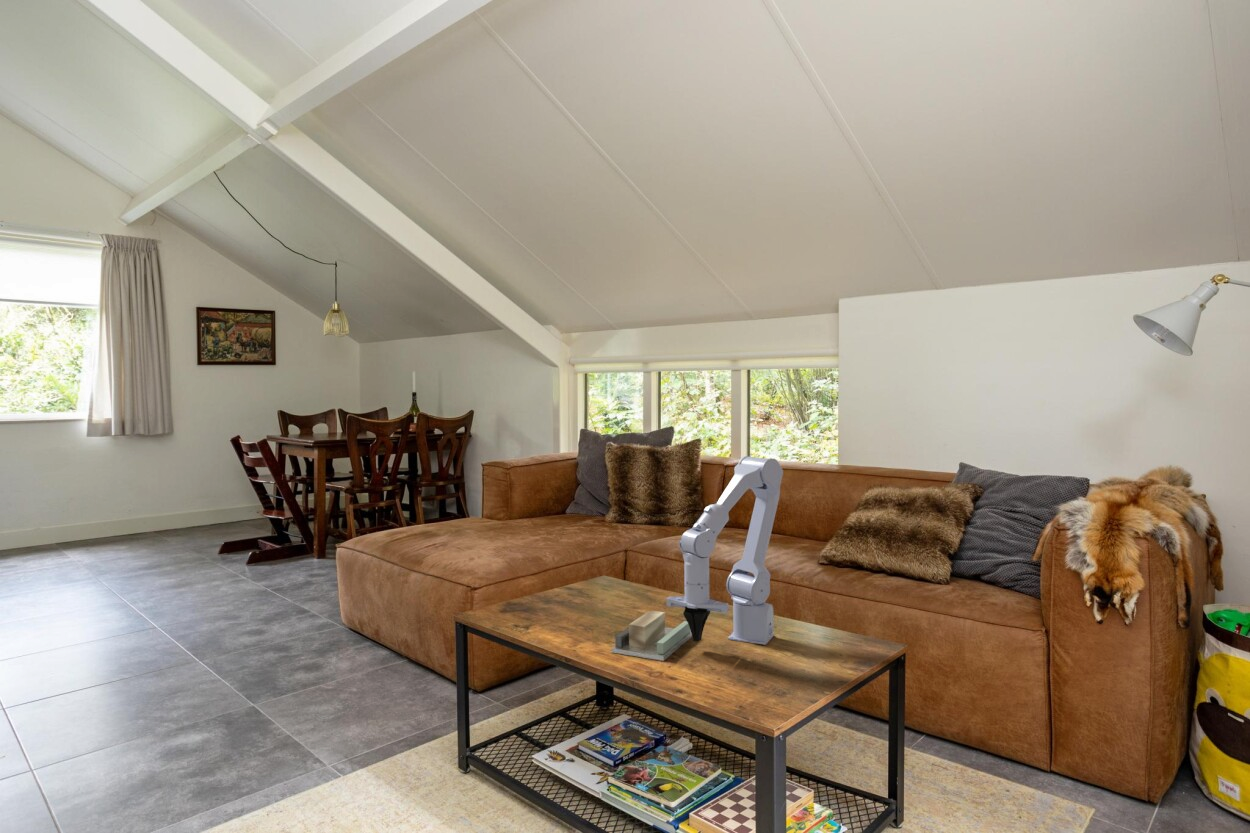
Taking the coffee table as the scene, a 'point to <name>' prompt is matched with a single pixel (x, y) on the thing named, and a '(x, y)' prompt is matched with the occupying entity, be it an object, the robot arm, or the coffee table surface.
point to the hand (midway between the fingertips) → (697, 640)
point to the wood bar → (646, 629)
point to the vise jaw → (673, 637)
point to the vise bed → (650, 650)
